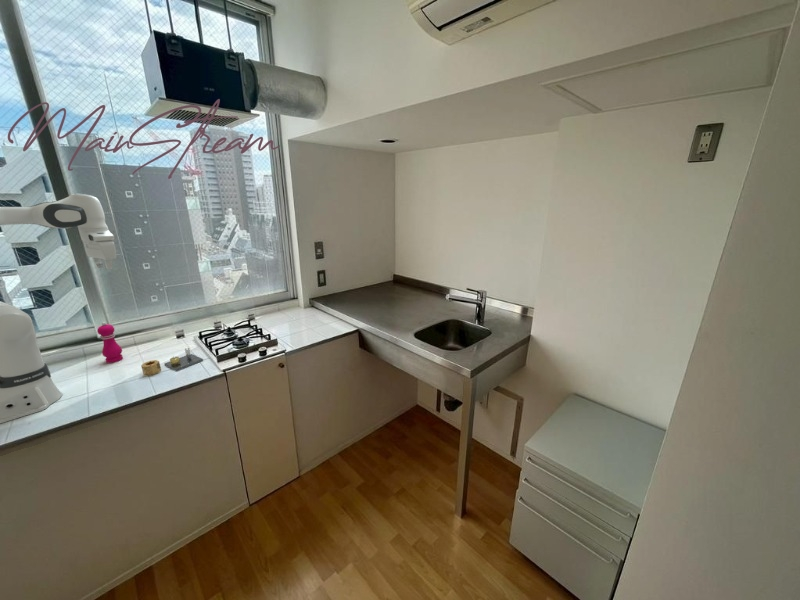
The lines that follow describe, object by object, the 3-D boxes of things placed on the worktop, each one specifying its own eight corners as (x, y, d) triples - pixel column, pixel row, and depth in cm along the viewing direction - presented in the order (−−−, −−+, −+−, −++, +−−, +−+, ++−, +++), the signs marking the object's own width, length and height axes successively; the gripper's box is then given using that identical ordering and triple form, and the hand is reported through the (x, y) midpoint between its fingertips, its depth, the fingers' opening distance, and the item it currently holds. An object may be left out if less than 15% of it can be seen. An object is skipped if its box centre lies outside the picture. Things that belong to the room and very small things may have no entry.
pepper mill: (112, 364, 151) (101, 325, 145) (100, 362, 152) (89, 324, 147) (128, 357, 158) (117, 319, 152) (116, 356, 159) (105, 318, 153)
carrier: (176, 371, 144) (173, 358, 142) (164, 365, 150) (161, 352, 148) (203, 360, 154) (200, 348, 152) (191, 355, 159) (188, 343, 158)
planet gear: (147, 376, 140) (145, 367, 138) (141, 373, 142) (139, 364, 141) (163, 371, 144) (160, 362, 143) (156, 367, 147) (154, 359, 146)
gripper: (75, 234, 131) (85, 267, 135) (95, 237, 122) (105, 272, 126) (95, 233, 137) (104, 265, 141) (115, 235, 127) (124, 269, 131)
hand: (104, 268), depth 133 cm, fingers open, 8 cm apart
